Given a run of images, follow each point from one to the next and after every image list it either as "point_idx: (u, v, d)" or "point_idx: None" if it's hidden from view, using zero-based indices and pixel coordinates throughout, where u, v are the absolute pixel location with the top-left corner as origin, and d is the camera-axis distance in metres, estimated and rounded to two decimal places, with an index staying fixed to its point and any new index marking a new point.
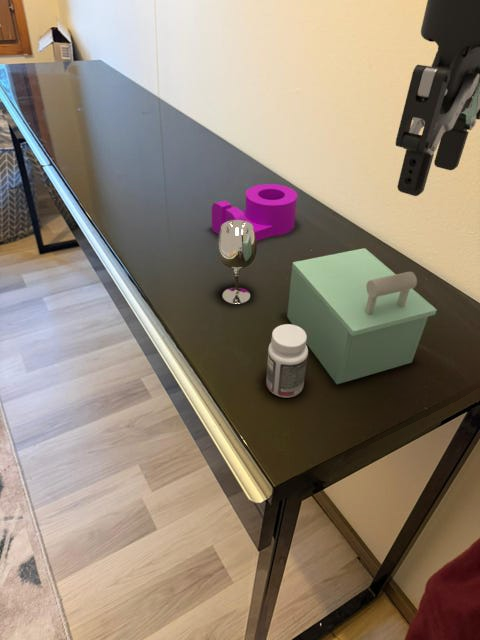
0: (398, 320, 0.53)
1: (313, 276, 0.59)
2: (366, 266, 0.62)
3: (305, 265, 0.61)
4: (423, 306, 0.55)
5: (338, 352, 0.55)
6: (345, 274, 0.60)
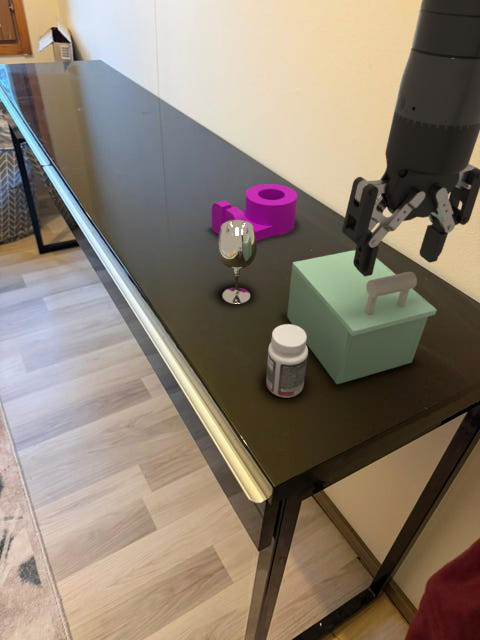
0: (398, 320, 0.53)
1: (313, 276, 0.59)
2: None
3: (305, 265, 0.61)
4: (423, 306, 0.55)
5: (338, 352, 0.55)
6: (345, 274, 0.60)
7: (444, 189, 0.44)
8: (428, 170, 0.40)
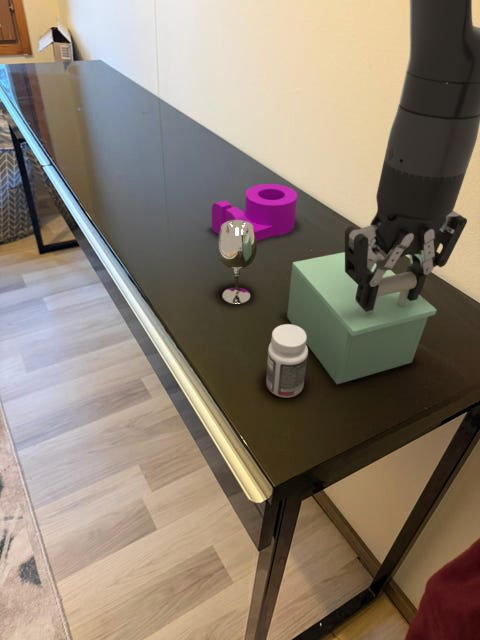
0: (398, 320, 0.53)
1: (313, 276, 0.59)
2: None
3: (305, 265, 0.61)
4: (423, 306, 0.55)
5: (338, 352, 0.55)
6: (345, 274, 0.60)
7: (432, 230, 0.46)
8: (415, 216, 0.43)
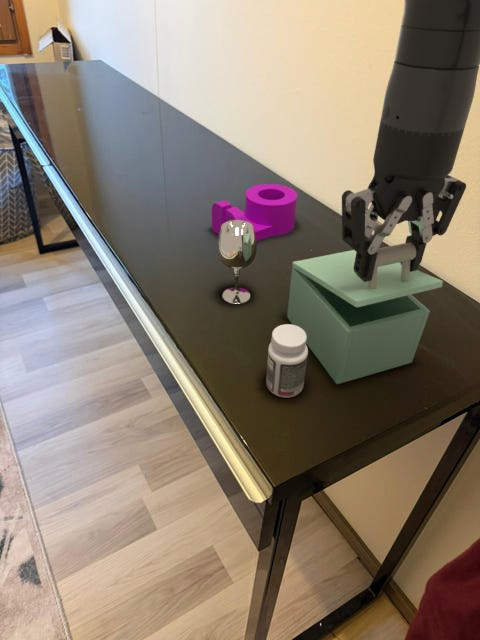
0: (403, 290, 0.51)
1: (313, 269, 0.59)
2: None
3: (305, 262, 0.61)
4: (428, 279, 0.53)
5: (338, 352, 0.55)
6: (345, 265, 0.59)
7: (431, 194, 0.46)
8: (413, 175, 0.42)
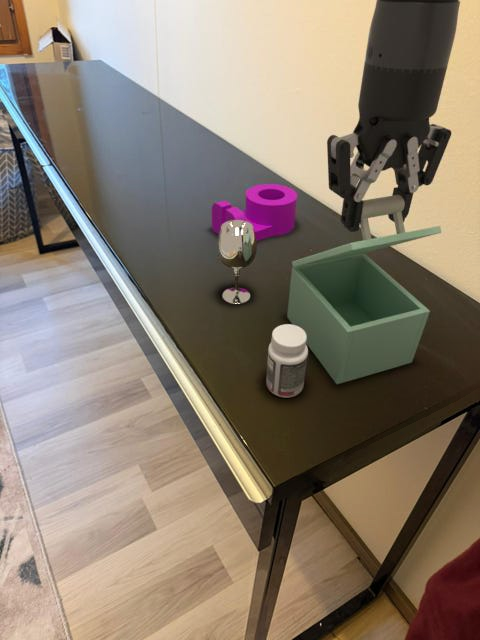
0: (399, 234, 0.49)
1: None
2: None
3: None
4: None
5: (338, 352, 0.55)
6: None
7: (415, 139, 0.46)
8: (397, 115, 0.42)
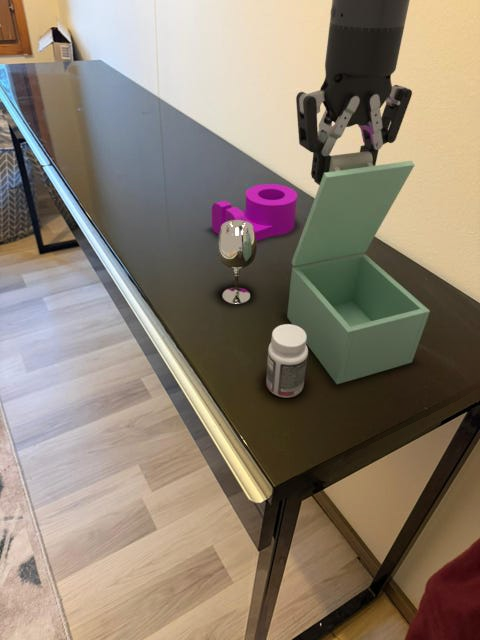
0: (371, 166, 0.51)
1: None
2: None
3: None
4: None
5: (338, 352, 0.55)
6: None
7: (377, 96, 0.50)
8: (357, 72, 0.46)
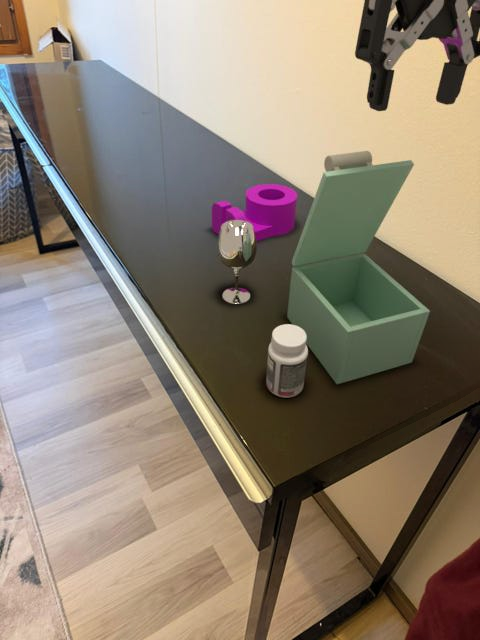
0: (371, 165, 0.51)
1: None
2: None
3: None
4: None
5: (338, 352, 0.55)
6: None
7: None
8: None
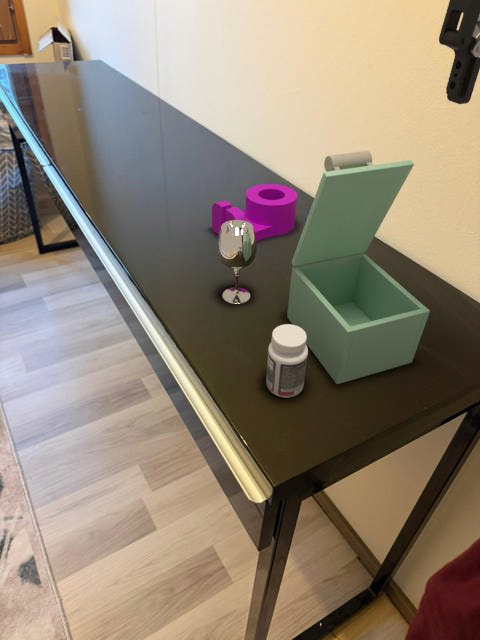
0: (371, 165, 0.51)
1: None
2: None
3: None
4: None
5: (338, 352, 0.55)
6: None
7: None
8: None
